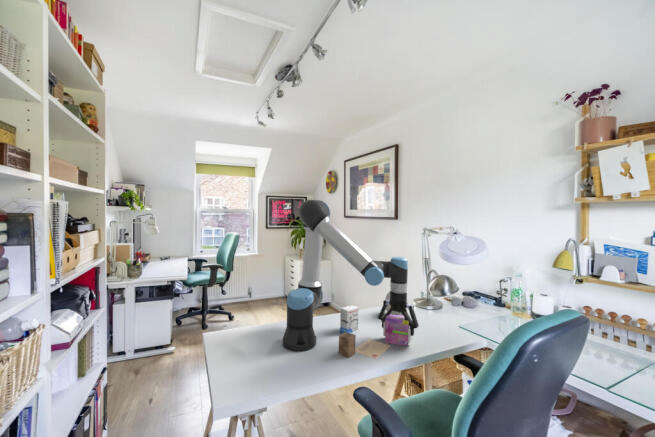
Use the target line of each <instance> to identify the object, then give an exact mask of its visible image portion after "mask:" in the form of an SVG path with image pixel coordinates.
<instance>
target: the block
mask: <svg viewBox="0 0 655 437" xmlns="http://www.w3.org/2000/svg"><path fill="white" fill-rule="evenodd" d="M356 337H357V336H356V334H353V333H347V332H345V333H342V334H339V335H338V355H340V356H342V357H345V358H348V359H350V358H351V357H352V356H353V355H355V354H356V352H355V349H356V339H357V338H356Z"/></svg>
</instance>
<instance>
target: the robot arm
mask: <svg viewBox="0 0 655 437" xmlns="http://www.w3.org/2000/svg"><path fill="white" fill-rule="evenodd" d="M298 217H299V220H300V221H301V222H302V223H303V224H302V228H304V230H305V235H304V236H305V237H304V249H303V261H302V263H303V264H302V274H301V279H300V280H299V281H298V285H297V288H296V289H292V290H290V291H289V292H288V294H287V296H286V328H285V329H284V333H283V337H282V346H283V348H285V349H286V350H288V351H292V352H293V351H294V352H305V351H308V350H312V349H314V348H315V347H316V346H317V336H316V334H315V330H314V311H316V310H317V309H318V307H319V306H320V305H321V303H322V302H323V299H324V293H323V292H324V291H323V288H322V287H323V283H322V282H321V281H320V277H321V276H320V275H321V267H322V266H321V263H322V255H323V254H322V252H323V243H324V242H323V241H324V240H325V241H326V242H327V243H328V244H329V245H330V246H331V247H332V248H333V249H334V250H336V252H337V253H338V254H339V255H341V257H343V258H344V259H345V260H346V261H347V262H348V263H349V264H350V265H351V266H352V267H353V268H354V269H356V270H357V271H358V272H359V273H360V274H361V275H362V276H363V277H364V279H365V282H366V284H368V285H369V286H372V287H373V286H374V287H376V286H379V285H381V283H382V282H383V280H384V279H385V278H386V279H390V284H389V285H390V290H391V291H390V290H389V291H390V301H389V300H387V299H386V300H385V299H384V300H383V303H382V306H381V309H380V311H379V314H378V317H377V319H378V320H380V321H381V328H382V329H383V332H382V334H383V335H382V337H385V321H386V316H387V315H390V314H391V313H392V311H395V312H399V313H402V315H403V316H404V318H405V319H406V320H408V321H409V327H410V328H408V343H409V344H411V343H412V342H413V337H414V335H415V329H418V328H419V322H418V318H417V316H416V312H415V309H414V308H415V306H414V304H409V303H408V304H407V300H408V293H407V292H408V273H409V272H408V271H409V270H408V268H409V267H408V266H409V265H408V262H409V261H408V259H407V258H406V257H402V256H393V257H391V259H390V260H388V261H387V260H384V261H382V260H374V259H372V258H370V257H369V255H368V254H366V253H365V252H364V250H362V249H361V248H360V247H359V246H358V245H357V244H356V243H354V241H353V240H351V239H350V238H349V237H348V236H347V235H346V234H345V233H344V232H343V231H341V230H340V228H338V226H336V225H335V224H334V223H333V222H332V221H330V217H331V210H330V207H329V205H328V204H327V203H326V202H325V201H322V200H319V199H318V200H317V199H307V200H305V201H303V202H302V203H301V204H300V205H299V209H298ZM388 304H390V306H391V308H390V309H389V311H388V312H387V310H386V308H387V305H388ZM406 308H407V310H406ZM408 312H409V313H408ZM385 313H386V314H385Z"/></svg>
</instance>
